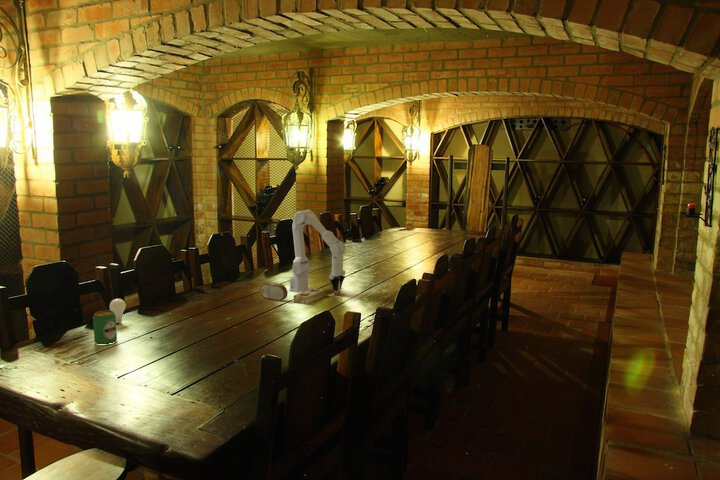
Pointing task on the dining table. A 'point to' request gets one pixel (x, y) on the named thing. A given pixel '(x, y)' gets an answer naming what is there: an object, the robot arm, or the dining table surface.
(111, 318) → the beverage can
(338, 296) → the cork coaster
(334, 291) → the pin
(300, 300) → the wooden rectangular frame
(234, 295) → the dining table surface
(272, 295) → the tin
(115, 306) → the lightbulb
